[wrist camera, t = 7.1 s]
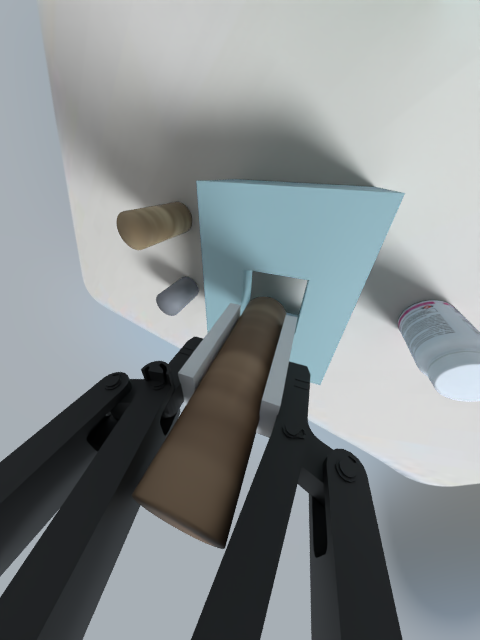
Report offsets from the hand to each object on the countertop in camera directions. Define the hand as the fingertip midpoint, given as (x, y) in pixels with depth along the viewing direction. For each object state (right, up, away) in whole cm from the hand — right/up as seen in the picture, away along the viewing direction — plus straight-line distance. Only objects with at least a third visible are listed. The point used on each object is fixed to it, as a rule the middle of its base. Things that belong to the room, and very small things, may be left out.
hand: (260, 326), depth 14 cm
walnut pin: (+1, +1, +1) cm, 2 cm away
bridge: (+4, +6, +8) cm, 11 cm away
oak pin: (-8, +12, +9) cm, 18 cm away
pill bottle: (+18, +1, +7) cm, 19 cm away
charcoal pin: (-9, +5, +15) cm, 18 cm away
